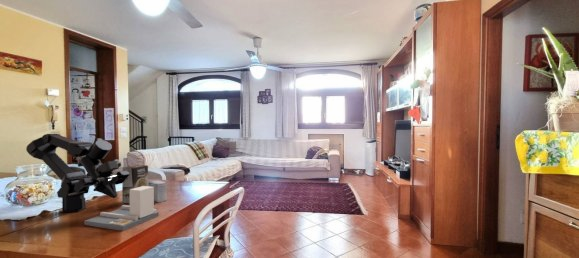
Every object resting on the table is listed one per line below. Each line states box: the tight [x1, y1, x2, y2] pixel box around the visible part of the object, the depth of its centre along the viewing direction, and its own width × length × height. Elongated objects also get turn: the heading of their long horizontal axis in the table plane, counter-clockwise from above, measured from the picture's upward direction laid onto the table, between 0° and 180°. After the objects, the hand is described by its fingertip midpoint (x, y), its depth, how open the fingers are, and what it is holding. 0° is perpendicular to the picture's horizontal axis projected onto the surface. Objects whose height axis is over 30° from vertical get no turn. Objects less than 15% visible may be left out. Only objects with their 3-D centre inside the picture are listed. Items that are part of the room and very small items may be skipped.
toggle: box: [129, 185, 155, 218], centre depth 95 cm, size 6×6×10 cm
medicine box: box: [148, 180, 167, 203], centre depth 120 cm, size 8×4×9 cm, turn 58°
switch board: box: [84, 204, 160, 232], centre depth 95 cm, size 18×15×3 cm
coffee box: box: [121, 164, 149, 204], centre depth 120 cm, size 9×6×16 cm
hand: (115, 197), depth 99 cm, fingers closed
